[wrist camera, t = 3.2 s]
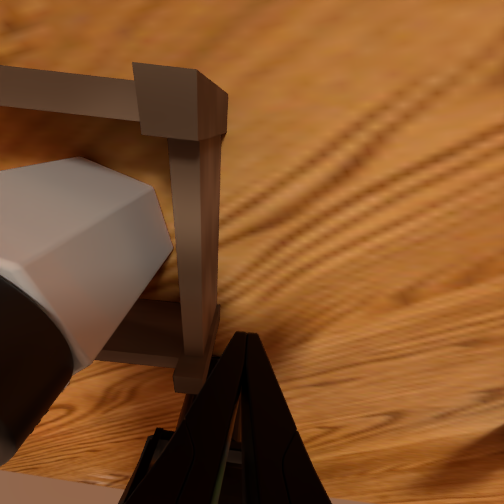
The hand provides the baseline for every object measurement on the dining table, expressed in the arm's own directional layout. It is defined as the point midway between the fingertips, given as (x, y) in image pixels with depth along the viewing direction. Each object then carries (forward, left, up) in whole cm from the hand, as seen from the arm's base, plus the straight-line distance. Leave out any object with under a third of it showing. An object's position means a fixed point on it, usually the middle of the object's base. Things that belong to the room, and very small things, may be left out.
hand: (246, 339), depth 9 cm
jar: (0, +10, -9) cm, 13 cm away
